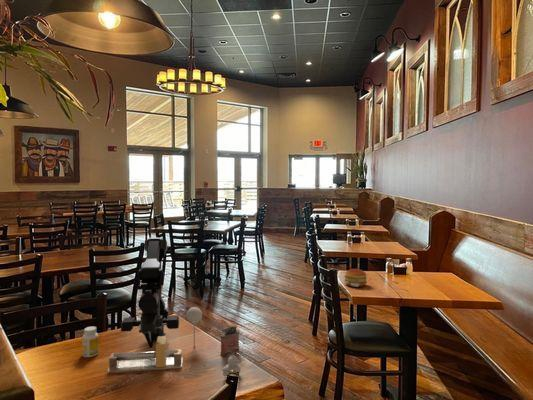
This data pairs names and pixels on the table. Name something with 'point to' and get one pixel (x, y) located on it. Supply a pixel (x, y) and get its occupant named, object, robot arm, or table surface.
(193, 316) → the lollipop
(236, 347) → the lighter
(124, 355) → the grey piece
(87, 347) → the supplement bottle
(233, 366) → the rubber duck
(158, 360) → the tan wooden block
